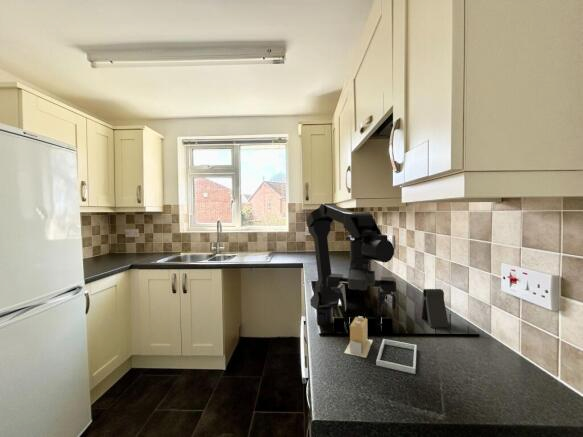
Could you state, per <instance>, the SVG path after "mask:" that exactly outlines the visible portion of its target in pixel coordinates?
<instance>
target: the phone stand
mask: <svg viewBox="0 0 583 437" xmlns="http://www.w3.org/2000/svg"><path fill="white" fill-rule="evenodd" d="M419 311H420V312H419V315H418V316H419V317H418V318H419V319H420V320H421V321H422V322H423V323H424V324H426V325H427V326H428V327H429V328H431V329H437V328H438V329H439V328H441V329H444V328H445V329H447V328H449V327H450V326H449V325H450V324H449V320H448V315H447V308H446V304H445V291H444V290H443V289H441V288H424V289H423V290H422V300H421V307H420V310H419Z"/></svg>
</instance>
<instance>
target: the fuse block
mask: <svg viewBox="0 0 583 437" xmlns="http://www.w3.org/2000/svg"><path fill="white" fill-rule="evenodd" d="M373 340H374V339H368V342H367V345H366V347H365V349H364V352H363V353H362V343H360V342H355V341H350V340H349V343H348V345H347V347H346V349H345V350H344V351H343V353H344V354H348V355H352V356H357V357H361V358H365V359H366V358H367V356H368V354H369V351H370V349H371V346H372V344H373Z"/></svg>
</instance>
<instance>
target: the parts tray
mask: <svg viewBox="0 0 583 437" xmlns="http://www.w3.org/2000/svg"><path fill="white" fill-rule="evenodd" d="M385 345H387V346H392V347H396V348H397V347H398V348H403V349H407V350H408V349H409V350H413V362H412V364H413V365H412V366H408V365H404V364H399V363H397V362H396V363H395V362H391V361H386V360H381V357H382V354H383V350H384V348H385ZM377 353H378V355H377V357H376V360H375V361H376V362H375V364H376V366H377V367H381V368H386V369H391V370H396V371H400V372H405V373H408V374H414V375H415V374H416V370H417V368H416V367H417V366H416V365H417V344H414V343H413V344H412V343H407V342H401V341H398V340H397V341H396V340H391V339H385V338H383V339H382V342H381V344H380V347H379V350H378V352H377Z"/></svg>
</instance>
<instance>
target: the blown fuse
mask: <svg viewBox="0 0 583 437" xmlns="http://www.w3.org/2000/svg"><path fill="white" fill-rule="evenodd" d="M350 341H355V342H360V343H362V353H363V352H364V349H365V347H366V345H367V342H368V318H366V317H365V318H364V316H360V315H358V316H355V317H354V319H353V320H352V322H351V323H350V325H349V342H350Z"/></svg>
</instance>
